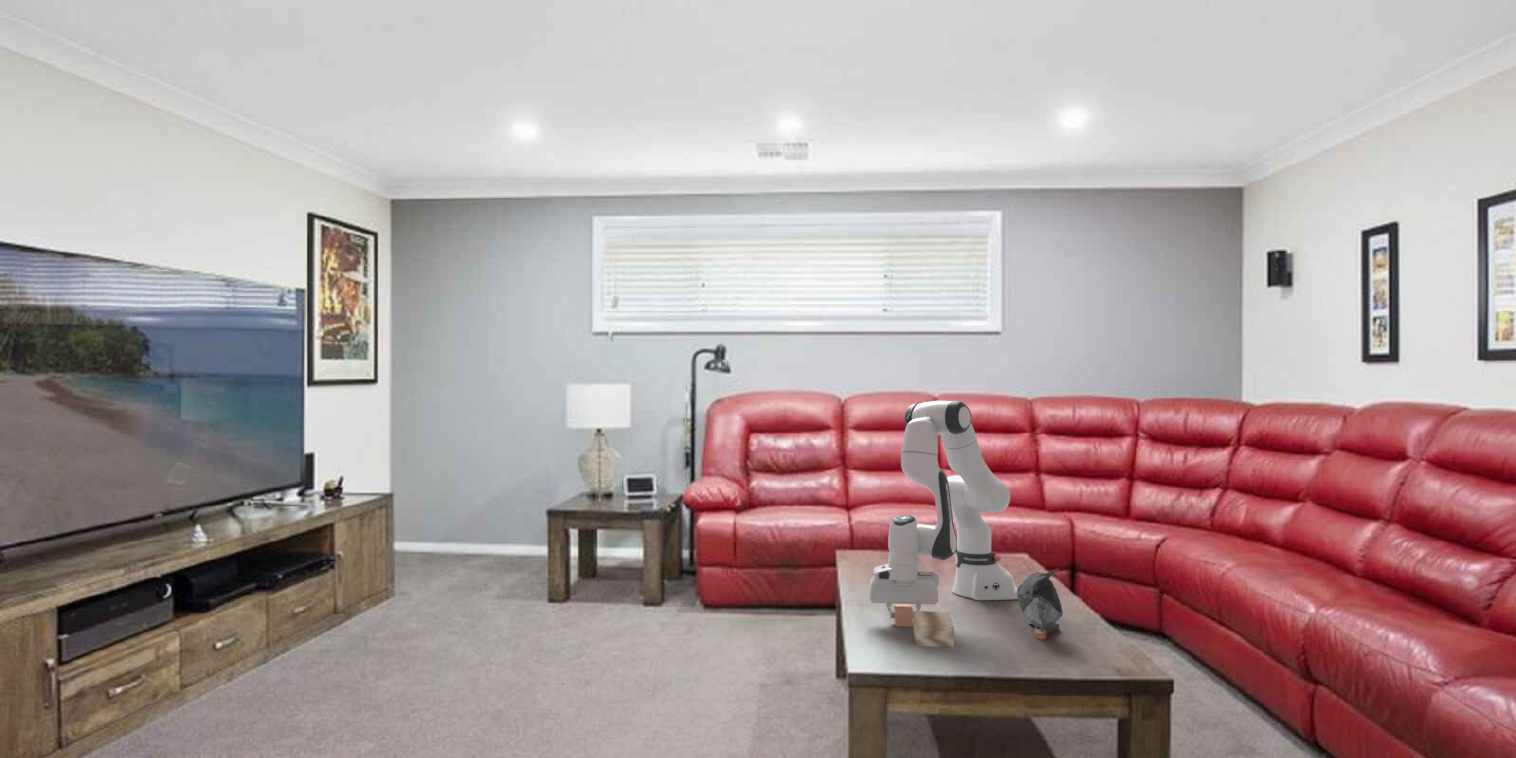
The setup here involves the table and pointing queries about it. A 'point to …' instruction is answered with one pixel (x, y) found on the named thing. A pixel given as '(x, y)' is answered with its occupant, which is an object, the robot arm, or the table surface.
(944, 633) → the birch block
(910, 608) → the terracotta cube
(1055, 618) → the grey faceted figure
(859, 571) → the table surface
